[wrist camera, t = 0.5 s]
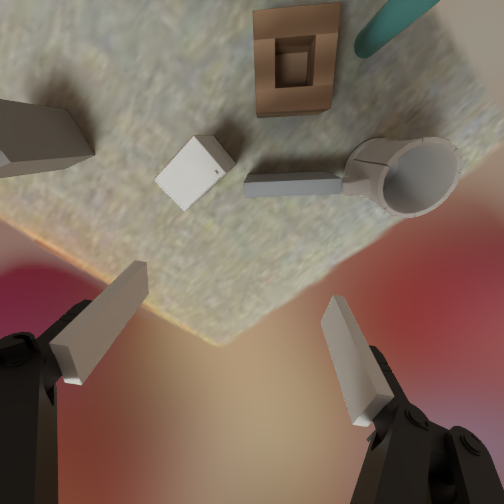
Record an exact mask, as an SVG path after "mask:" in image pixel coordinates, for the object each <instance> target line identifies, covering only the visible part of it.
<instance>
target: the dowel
mask: <svg viewBox="0 0 504 504" xmlns="http://www.w3.org/2000/svg"><path fill="white" fill-rule="evenodd" d="M438 1H439V0H389V1H388V2H387V3H386V4H385V5H384V6H383V7H382V8H381V10H380V11H379V12H378V13H377V14H376V15H375V16H374V17H373V19H372V20H371V21H370V22H369V23H368V24H367V25H366V26H365V28H364V29H363V30H362V31H361V32H360V33H359V34H358V36H357V38H356V40H355V46H354V48H355V53H356V55H357V56H358V57H360V58H368V57H370V56H371V55H372V54H373V53H375V52H376V51H377V50H379V49H380V48H381V47H382V46H384V45H385V44H386V43H387V42H389V41H390V40H391V39H392V38H394V37H395V36H396V35H397V34H399V33H400V32H401V31H402V30H404V29H405V28H406V27H408V26H409V25H410V24H411V23H413V22H414V21H415V20H416V19H418V18H419V17H420V16H421V15H423V14H424V13H425V12H426V11H428V10H429V9H430V8H431V7H433V6H434V5H435V4H436V3H438Z"/></svg>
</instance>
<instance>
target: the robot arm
mask: <svg viewBox="0 0 504 504" xmlns="http://www.w3.org/2000/svg"><path fill="white" fill-rule="evenodd" d="M148 294H149V291H148V276H147V262H142V261H136V260H135V261H134V262H133V263H132V264H131V265H130V266H129V267H128V268H127V269H126V270H125V271H124V272H123V273H122V274H121V275H119V276H118V277H117V278H116V279H115V280H114V281H113V282H112V283H111V284H110V285H109V286H108V287H107V288H106V289H105V290H104V291H103V292H102V293H101V294H100V295H99V296H98V297H97V298H96V299H94V300H93V301H91V300H83V301H82V302H80V303H78V304H76V305H74V306H73V307H72V308H71V309H70V310H68V311H67V312H66V314H64V315H63V316H62V317H61V318H60V319H59V320H57V321H56V322H55V323H54V324H53V325H52V326H51V327H49V328H48V329H47V330H46V331H45V332H44V333H43V334H42V335H40V336H39V337H38V338H37V339H35V336H34V335H33V334H31V333H29V332H19V333H14V334H11V335H8V336H6V337H3V338H2V339H0V504H58V446H57V387H56V384H55V383H56V382H57V381H58V379H59V378H60V377H61V376H63V379H64V381H65V382H66V383H73V384H79V385H82V384H83V383H84V381H85V380H86V378H87V377H88V376H89V374H90V373H91V372H92V370H93V369H94V368H95V366H96V365H97V363H98V362H99V361H100V359H101V358H102V357H103V355H104V354H105V352H106V351H107V350H108V348H109V347H110V346H111V344H112V343H113V341H114V340H115V339H116V338H117V336H118V335H119V333H120V332H121V331H122V329H123V328H124V327H125V325H126V324H127V322H128V321H129V320H130V318H131V317H132V316H133V314H134V313H135V312H136V310H137V309H138V308H139V306H140V305H141V303H142V302H143V301H144V299H145V298H146V297H147V295H148ZM321 326H322V329H323V332H324V335H325V338H326V342H327V345H328V348H329V351H330V355H331V358H332V360H333V364H334V367H335V370H336V374H337V377H338V380H339V383H340V387H341V390H342V393H343V396H344V400H345V403H346V406H347V409H348V412H349V416H350V419H351V422H352V424H353V425H359V426H366V427H367V426H368V425H369V424H370V423H371V422H372V421H373V423H374V425H375V428H376V430H375V431H374V432H373V433H372V434H371V435H370V436H369V437H368V438H367V441H368V442H369V441H370V440H371V441H370V444H369V447H368V450H367V453H366V457H365V460H364V463H363V465H362V468H361V472H360V475H359V478H358V481H357V484H356V487H355V490H354V493H353V496H352V499H351V502H350V504H504V490H503V487H502V484H501V482H500V479H499V477H498V474H497V471H496V469H495V466H494V463H493V461H492V458H491V456H490V454H489V452H488V450H487V448H486V447H485V446H484V444H482V442H481V441H480V440H479V439H478V438H477V437H476V436H475V435H474V434H473V433H471V432H470V431H468V430H467V429H465V428H463V427H460V426H454V427H452V428H451V429H450V430H448V429H446V428H444V427H441V426H439V425H437V424H435V423H433V422H431V421H429V420H428V418H427V417H426V416H425V414H424V413H423V412H422V411H421V410H420V409H419V408H417V407H416V406H414V405H412V404H411V403H410V402H409V401H408V399H407V397H406V396H405V394H404V392H403V390H402V388H401V386H400V385H399V383H398V381H397V379H396V377H395V376H394V374H393V373H392V370H391V369H390V367H389V366H388V363H387V361H386V359H385V357H384V356H383V354H382V353H381V352H380V351H379V350H378V349H377V348H376V347H375V346H370V345H368V343H367V341H366V339H365V337H364V336H363V334H362V332H361V330H360V328H359V326H358V324H357V322H356V320H355V318H354V316H353V314H352V312H351V310H350V308H349V306H348V304H347V302H346V300H345V298H344V297H343V296H338V295H333V296H332V298H331V301H330V303H329V305H328V307H327V309H326V311H325V314H324V316H323V318H322V320H321Z"/></svg>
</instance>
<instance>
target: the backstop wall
mask: <svg viewBox="0 0 504 504" xmlns="http://www.w3.org/2000/svg"><path fill="white" fill-rule="evenodd" d="M341 183H342V178H340V177H338V176H336V175H334V174H332V173H330V172H327V171H314V172H293V173H272V174H250V175H247V177H246V179H245V181H244V196H245V198H250V197H275V196H300V195H324V194H340V190H341Z"/></svg>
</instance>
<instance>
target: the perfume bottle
mask: <svg viewBox="0 0 504 504" xmlns="http://www.w3.org/2000/svg"><path fill="white" fill-rule="evenodd" d="M92 156H95V154H94V153H93V151H92V149H91V148H90V146H89V144H88V143H87V141H86V140H85V138H84V136H83V135H82V133H81V131H80V130H79V128H78V127H77V125H76V123H75V122H74V120H73V118H72V117H71V115H70V114H69V112H68V110H65V109H59V108H53V107H46V106H40V105H34V104H28V103H21V102H15V101H9V100H2V99H0V178H5V177H12V176H19V175H26V174H33V173H40V172H47V171H55V170H62V169H65V168H68V167H70V166H72V165H74V164H77V163H79V162H81V161H83V160H86V159H88V158H90V157H92Z"/></svg>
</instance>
